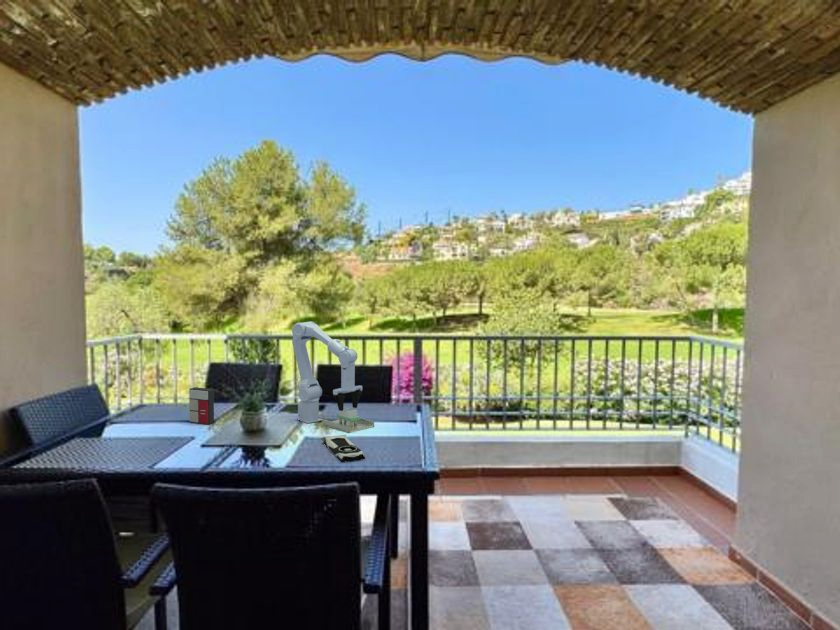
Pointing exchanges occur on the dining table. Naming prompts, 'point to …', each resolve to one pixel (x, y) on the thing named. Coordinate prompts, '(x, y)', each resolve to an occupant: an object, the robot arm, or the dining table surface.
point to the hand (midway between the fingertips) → (347, 409)
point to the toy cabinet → (201, 405)
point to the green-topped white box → (348, 414)
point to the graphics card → (343, 448)
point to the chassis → (349, 424)
